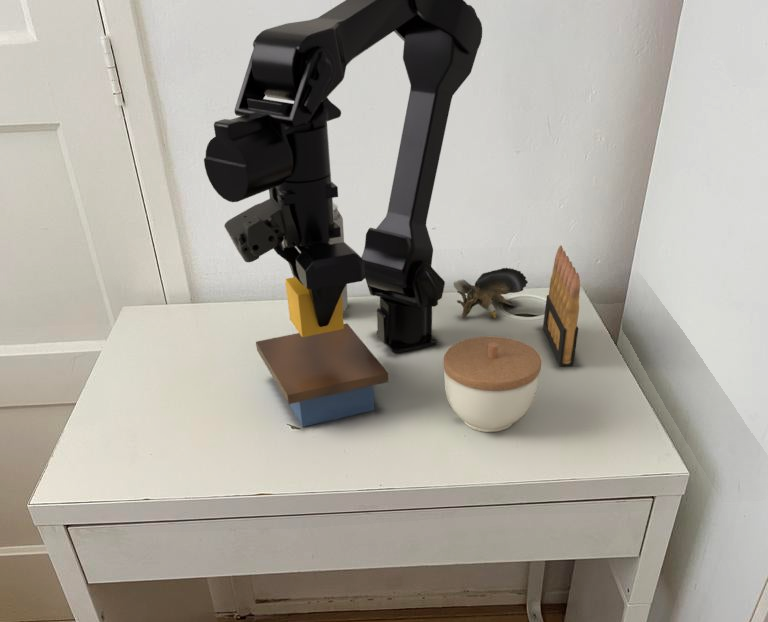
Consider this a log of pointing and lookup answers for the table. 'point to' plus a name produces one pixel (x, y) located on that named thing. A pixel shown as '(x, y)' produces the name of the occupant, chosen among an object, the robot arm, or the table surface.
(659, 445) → the table surface
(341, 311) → the yellow block
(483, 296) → the brown legged piece
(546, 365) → the table surface
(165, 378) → the table surface
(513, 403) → the trinket box
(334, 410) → the blue box
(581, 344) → the table surface
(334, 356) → the board
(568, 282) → the ammunition clip
